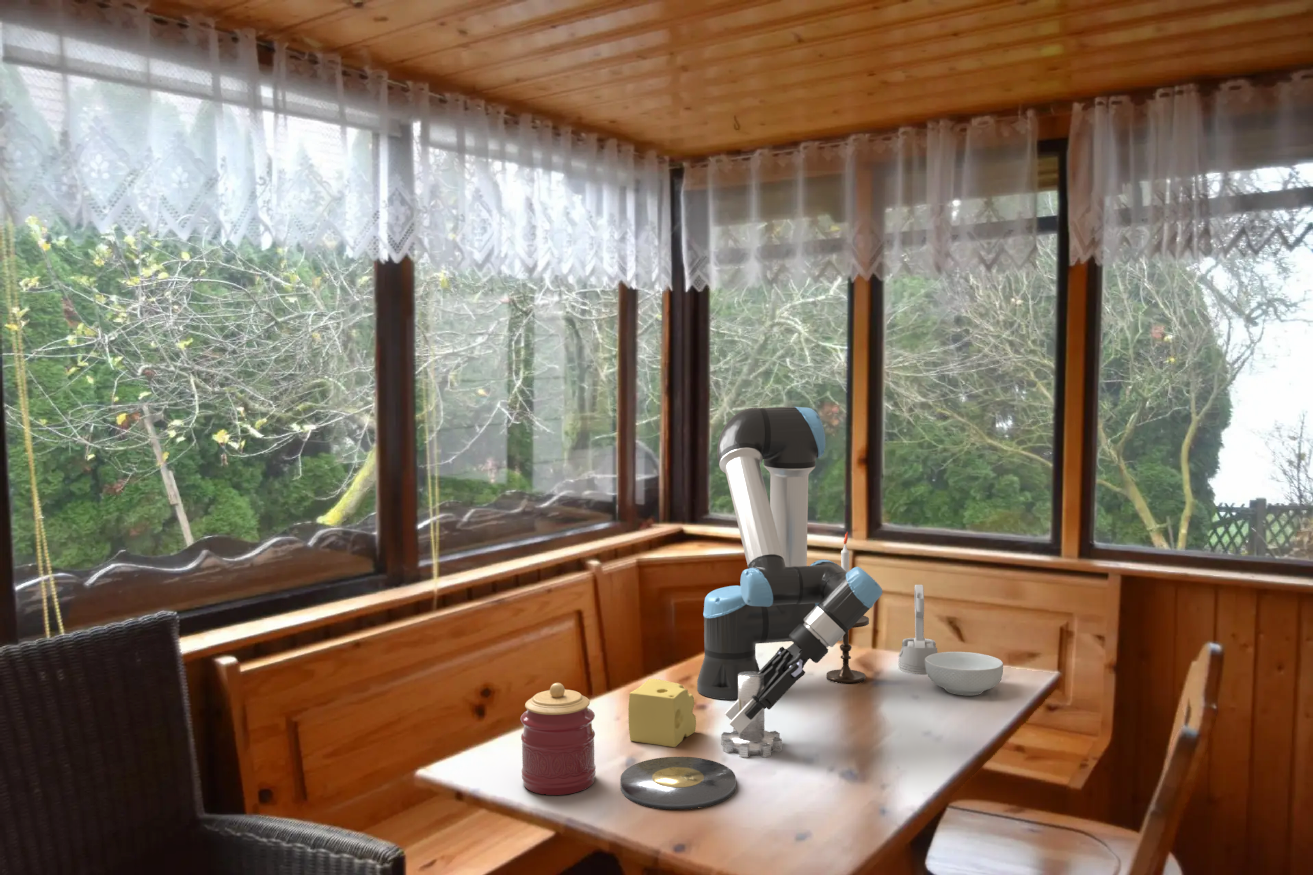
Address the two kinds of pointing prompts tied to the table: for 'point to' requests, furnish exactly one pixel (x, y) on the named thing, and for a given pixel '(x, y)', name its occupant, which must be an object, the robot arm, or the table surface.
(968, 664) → the cereal bowl
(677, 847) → the table surface
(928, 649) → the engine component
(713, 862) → the table surface
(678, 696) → the cheese
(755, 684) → the sun gear
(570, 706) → the canister
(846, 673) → the candlestick
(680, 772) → the carrier plate
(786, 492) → the robot arm
